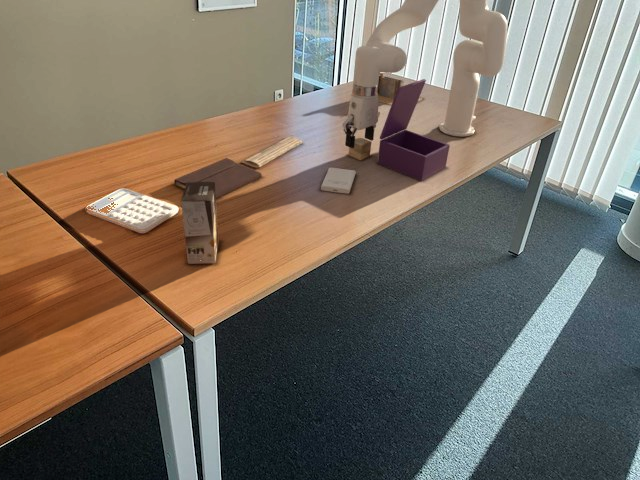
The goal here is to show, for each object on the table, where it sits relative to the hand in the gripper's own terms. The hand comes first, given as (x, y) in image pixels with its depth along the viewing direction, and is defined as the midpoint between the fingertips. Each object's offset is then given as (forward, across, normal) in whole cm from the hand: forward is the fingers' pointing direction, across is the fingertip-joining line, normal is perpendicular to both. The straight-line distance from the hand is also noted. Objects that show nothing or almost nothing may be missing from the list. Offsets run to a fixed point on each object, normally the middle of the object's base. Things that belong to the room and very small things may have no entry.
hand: (359, 142), depth 169 cm
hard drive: (+5, -19, -8) cm, 21 cm away
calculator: (+6, -71, +17) cm, 73 cm away
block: (+4, 0, 0) cm, 5 cm away
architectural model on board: (+4, +57, +30) cm, 64 cm away
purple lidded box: (+4, +7, -16) cm, 18 cm away
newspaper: (+5, -19, +20) cm, 28 cm away
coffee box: (+6, -69, -10) cm, 70 cm away
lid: (-12, +7, -10) cm, 17 cm away
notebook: (+6, -44, +16) cm, 47 cm away
